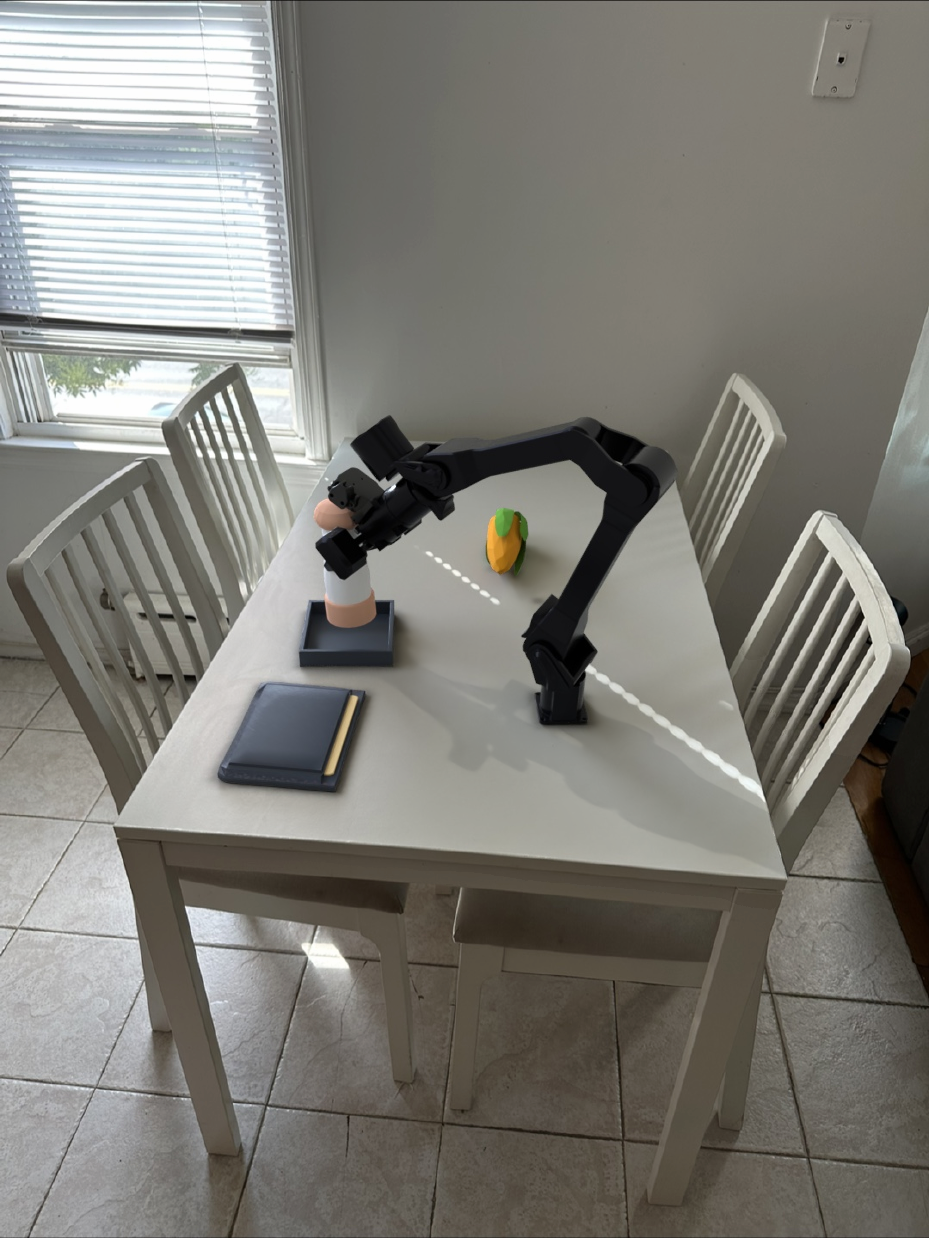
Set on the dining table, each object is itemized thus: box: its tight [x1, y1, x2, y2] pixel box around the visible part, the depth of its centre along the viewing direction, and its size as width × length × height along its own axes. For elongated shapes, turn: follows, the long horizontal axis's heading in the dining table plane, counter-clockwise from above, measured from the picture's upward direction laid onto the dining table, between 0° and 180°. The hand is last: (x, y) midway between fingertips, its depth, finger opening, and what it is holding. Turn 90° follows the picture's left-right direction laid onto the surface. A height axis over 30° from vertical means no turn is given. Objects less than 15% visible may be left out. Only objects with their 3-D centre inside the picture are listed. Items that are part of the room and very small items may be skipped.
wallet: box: [216, 681, 367, 793], centre depth 118 cm, size 20×2×15 cm
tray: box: [298, 599, 395, 667], centre depth 138 cm, size 14×13×3 cm
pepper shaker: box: [313, 497, 376, 628], centre depth 131 cm, size 7×7×19 cm
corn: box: [485, 507, 529, 576], centre depth 158 cm, size 7×8×20 cm
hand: (338, 559), depth 132 cm, fingers closed on pepper shaker, 5 cm apart
